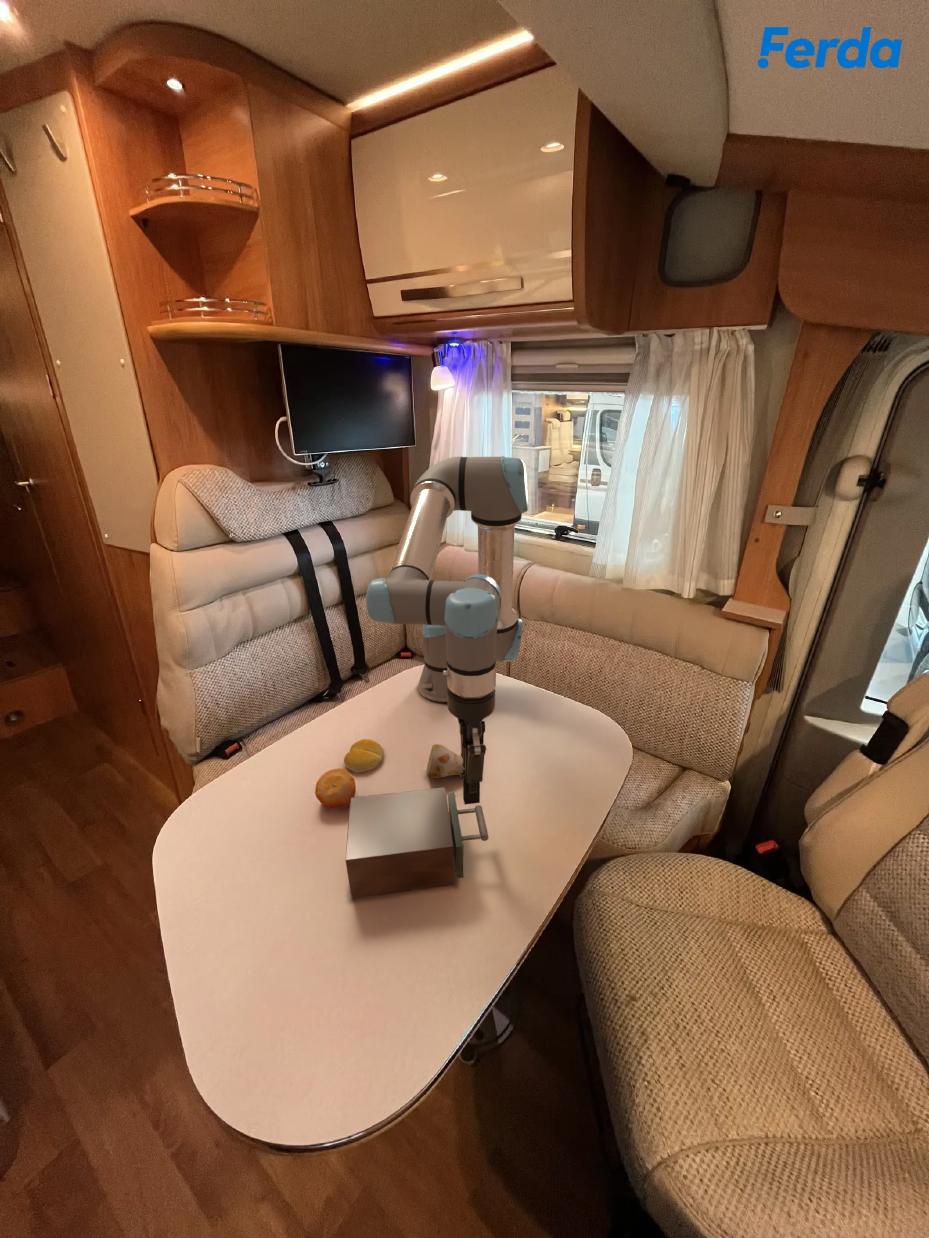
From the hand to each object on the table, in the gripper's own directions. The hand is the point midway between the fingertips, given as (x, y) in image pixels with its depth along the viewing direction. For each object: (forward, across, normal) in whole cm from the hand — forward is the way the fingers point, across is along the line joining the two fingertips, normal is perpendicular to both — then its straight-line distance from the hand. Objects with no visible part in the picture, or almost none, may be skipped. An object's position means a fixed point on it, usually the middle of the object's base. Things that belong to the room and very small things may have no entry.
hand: (471, 800), depth 88 cm
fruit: (+13, -16, -26) cm, 33 cm away
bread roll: (+13, -28, -21) cm, 37 cm away
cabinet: (+13, 0, -13) cm, 18 cm away
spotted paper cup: (+13, -21, -2) cm, 25 cm away
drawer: (+12, 0, -8) cm, 14 cm away
